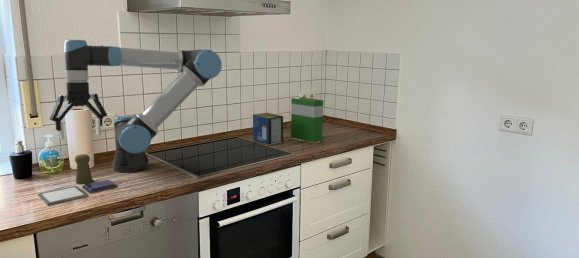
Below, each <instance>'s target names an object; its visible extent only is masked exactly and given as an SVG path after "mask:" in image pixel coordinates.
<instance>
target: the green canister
mask: <svg viewBox="0 0 579 258" xmlns="http://www.w3.org/2000/svg"><path fill="white" fill-rule="evenodd" d="M290 101H291V102H290V103H291V110H290V111H291V113H290V116H291V118H290V121H291V122H290V130H291V131H290V138H291V137H292V138H297V139H301V140H305V141H310V142H317V141H321V140H322V141H323V127H324V125H323V124H324V122H323V121H324V100H323V99H316V98H309V97H308V98H307V97H302V96H299V98H294V97H293V98H292V97H291V100H290Z"/></svg>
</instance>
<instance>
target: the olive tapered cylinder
mask: <svg viewBox="0 0 579 258" xmlns="http://www.w3.org/2000/svg"><path fill="white" fill-rule="evenodd" d="M90 159H91V157H90V155H88V154H86V153H82V154H77V155H76V156H75V158H74V161H75V162H74V163H76V174H75V175H76V176H75V183H76V184H77V185H85V184H90V183H93V182H94V180H93V176H92V172H91V167H90V164H89V163H90Z"/></svg>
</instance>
